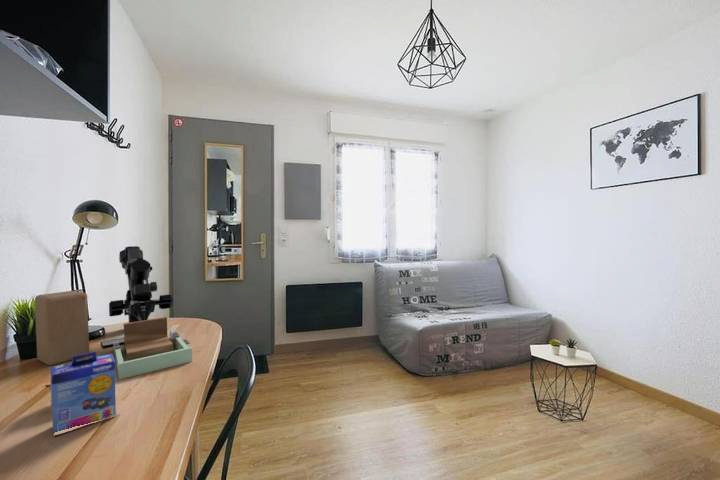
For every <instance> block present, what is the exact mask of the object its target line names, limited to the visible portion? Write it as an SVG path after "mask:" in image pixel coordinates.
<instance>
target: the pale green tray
mask: <svg viewBox="0 0 720 480" xmlns="http://www.w3.org/2000/svg"><path fill="white" fill-rule="evenodd" d="M169 339H170V341H171V342H172V343H173V346H174V347H176V349H175V350H173V351H171V352H166V353H162V354H157V355H153V356H148V357H143V358H139V359H134V360H130V361H127V360H126V361H124V358H123V355H122V350H121V345H120V342H119V340H118V339H116V340H115V339H114V340H113V342H112V344H113V353H111V354H112V355H113V357H114V360H115V365H116V368H117V373H118V379H119V380H122V379H127V378H130V377H134V376H139V375H143V374H146V373H150V372H155V371H159V370H162V369H166V368H170V367H171V368H172V367H174V366H179V365H184V364H188V363H193V347H191V346H190V347H189V346H188V344H189V345H190V342H189V340H188V339H187V338H184V339H182V338H181V336H180V334H179V332H177V331H175V329H171V330H169Z"/></svg>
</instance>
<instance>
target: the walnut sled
mask: <svg viewBox="0 0 720 480" xmlns="http://www.w3.org/2000/svg"><path fill="white" fill-rule="evenodd" d="M123 339H124V340H123V341H124V343H123V345H124V346H123V348H124V354H125V357H126V361H130V360H134V359H139V358H143V357H148V356H153V355H157V354H162V353H166V352H171V351H174V343H173V342H172V341H171V339H170V337H168V318H167V316H163V317H158V318H157V317H156V318H151V319H149V318H148V320H143V321H137V322H130V323H129V322H125V323H123Z"/></svg>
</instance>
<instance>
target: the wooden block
mask: <svg viewBox="0 0 720 480" xmlns="http://www.w3.org/2000/svg"><path fill="white" fill-rule="evenodd" d="M88 304H89V303H88V294H87V292H83V291H77V290H67V291H60V292H59V291H58V292H52V293H43V294H39V295H36V296H35V298H34V311H35V312H34V313H35V314H34V316H35V337H36V358H37V360H38V361H40V362H42V363H43V364H45V365H47V366H53V365H54V366H55V365H59V364H62V363H64V362H68V361H72V359H73V356H77V355H81V354H86V353H90V334H89V333H90V331H89V307H88V306H89V305H88Z"/></svg>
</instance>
